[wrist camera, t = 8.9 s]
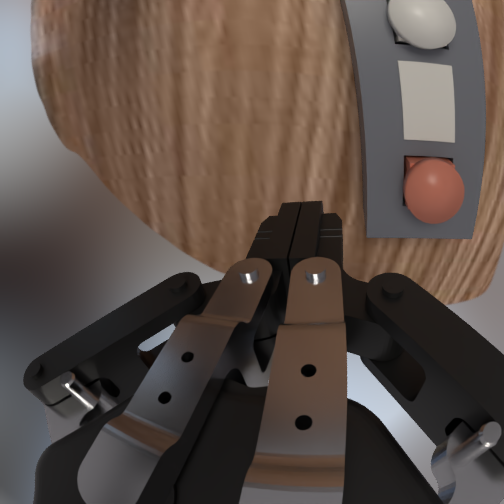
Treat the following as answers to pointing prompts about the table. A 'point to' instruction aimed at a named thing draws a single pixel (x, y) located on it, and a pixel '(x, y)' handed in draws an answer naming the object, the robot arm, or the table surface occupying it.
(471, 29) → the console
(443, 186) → the red plunger
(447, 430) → the robot arm
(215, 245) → the table surface
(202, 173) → the table surface
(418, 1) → the white plunger
